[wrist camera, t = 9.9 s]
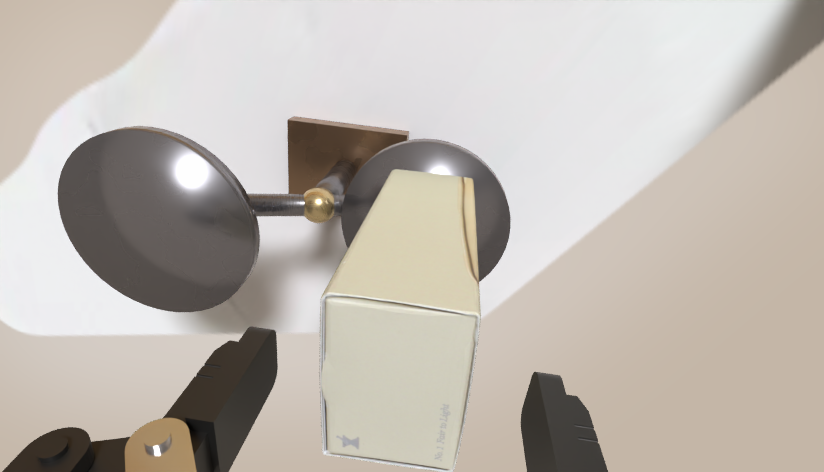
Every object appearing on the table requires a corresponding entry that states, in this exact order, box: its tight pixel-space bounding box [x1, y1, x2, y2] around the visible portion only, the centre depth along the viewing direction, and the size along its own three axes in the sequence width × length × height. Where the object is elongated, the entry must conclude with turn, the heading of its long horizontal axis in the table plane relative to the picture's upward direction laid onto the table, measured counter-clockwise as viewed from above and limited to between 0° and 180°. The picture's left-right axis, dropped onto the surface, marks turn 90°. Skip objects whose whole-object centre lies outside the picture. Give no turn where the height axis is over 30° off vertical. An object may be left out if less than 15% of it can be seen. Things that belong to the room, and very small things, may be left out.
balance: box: [58, 117, 510, 312], centre depth 26 cm, size 21×9×13 cm, turn 84°
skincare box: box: [320, 169, 481, 472], centre depth 18 cm, size 6×4×12 cm
